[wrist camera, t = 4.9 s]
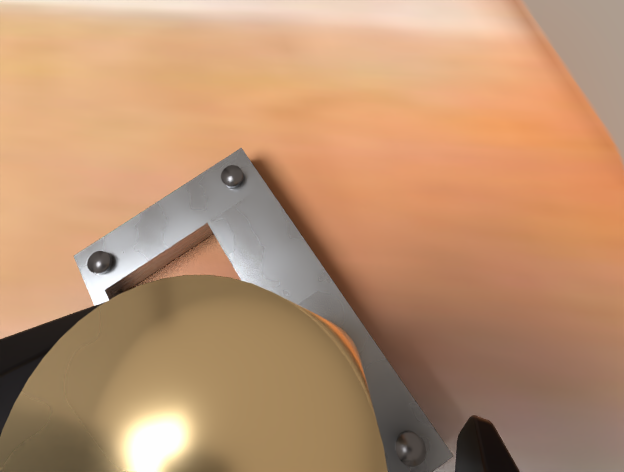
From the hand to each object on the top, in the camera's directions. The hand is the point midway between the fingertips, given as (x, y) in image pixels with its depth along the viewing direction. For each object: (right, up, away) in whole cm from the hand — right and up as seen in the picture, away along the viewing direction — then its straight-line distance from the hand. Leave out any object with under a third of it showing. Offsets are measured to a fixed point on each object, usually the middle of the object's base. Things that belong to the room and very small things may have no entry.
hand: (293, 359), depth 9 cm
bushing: (+1, -3, +7) cm, 7 cm away
